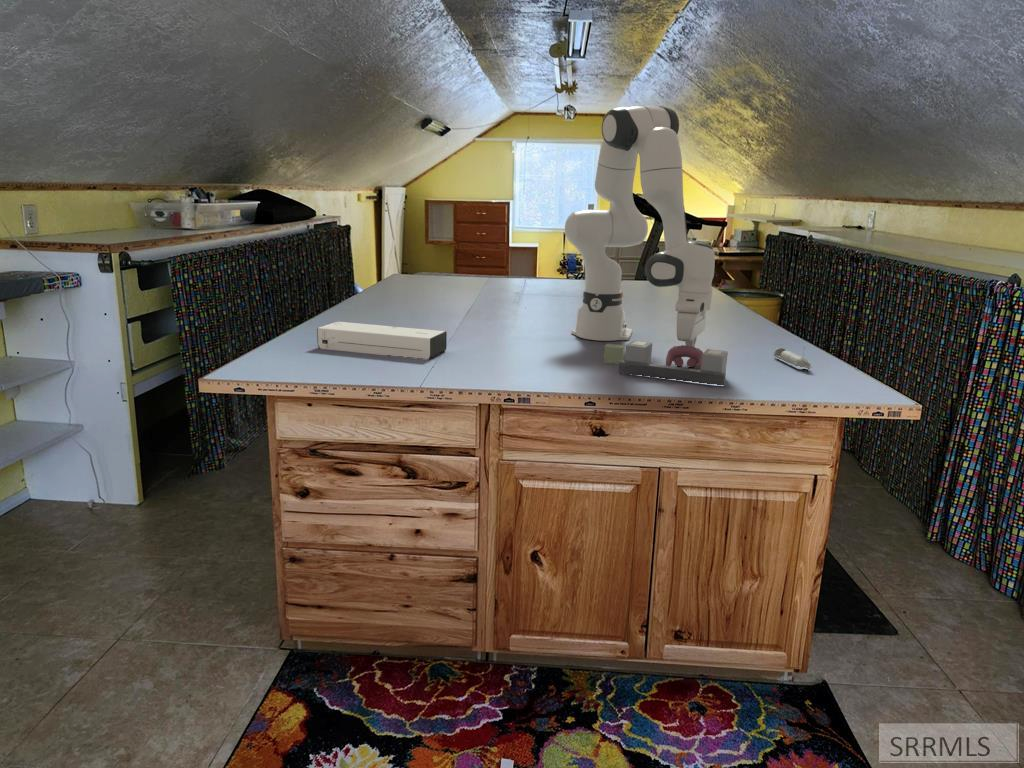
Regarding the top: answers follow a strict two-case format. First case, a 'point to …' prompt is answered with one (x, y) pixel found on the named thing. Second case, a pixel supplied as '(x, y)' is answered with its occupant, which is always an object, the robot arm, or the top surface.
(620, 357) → the block
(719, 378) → the rail bar
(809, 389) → the top surface
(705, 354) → the mounted modules
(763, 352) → the top surface
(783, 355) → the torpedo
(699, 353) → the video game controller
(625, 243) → the robot arm
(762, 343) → the top surface
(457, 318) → the top surface
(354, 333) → the laminator
